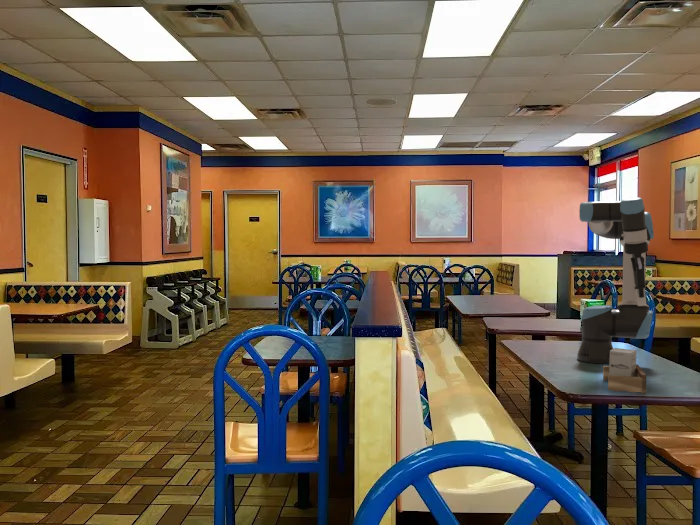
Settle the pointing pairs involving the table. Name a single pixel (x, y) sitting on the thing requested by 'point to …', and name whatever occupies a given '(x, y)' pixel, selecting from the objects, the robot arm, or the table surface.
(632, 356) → the supplement box
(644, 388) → the brown wooden frame
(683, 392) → the table surface
